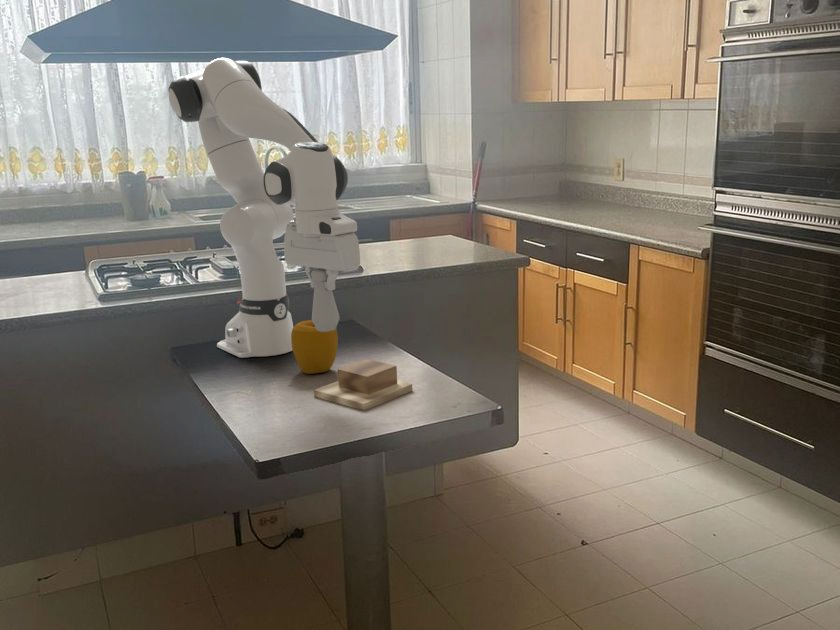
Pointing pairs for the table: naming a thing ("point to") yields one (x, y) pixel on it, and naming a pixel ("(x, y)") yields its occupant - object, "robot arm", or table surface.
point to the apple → (313, 347)
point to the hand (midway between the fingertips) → (323, 288)
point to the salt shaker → (323, 304)
